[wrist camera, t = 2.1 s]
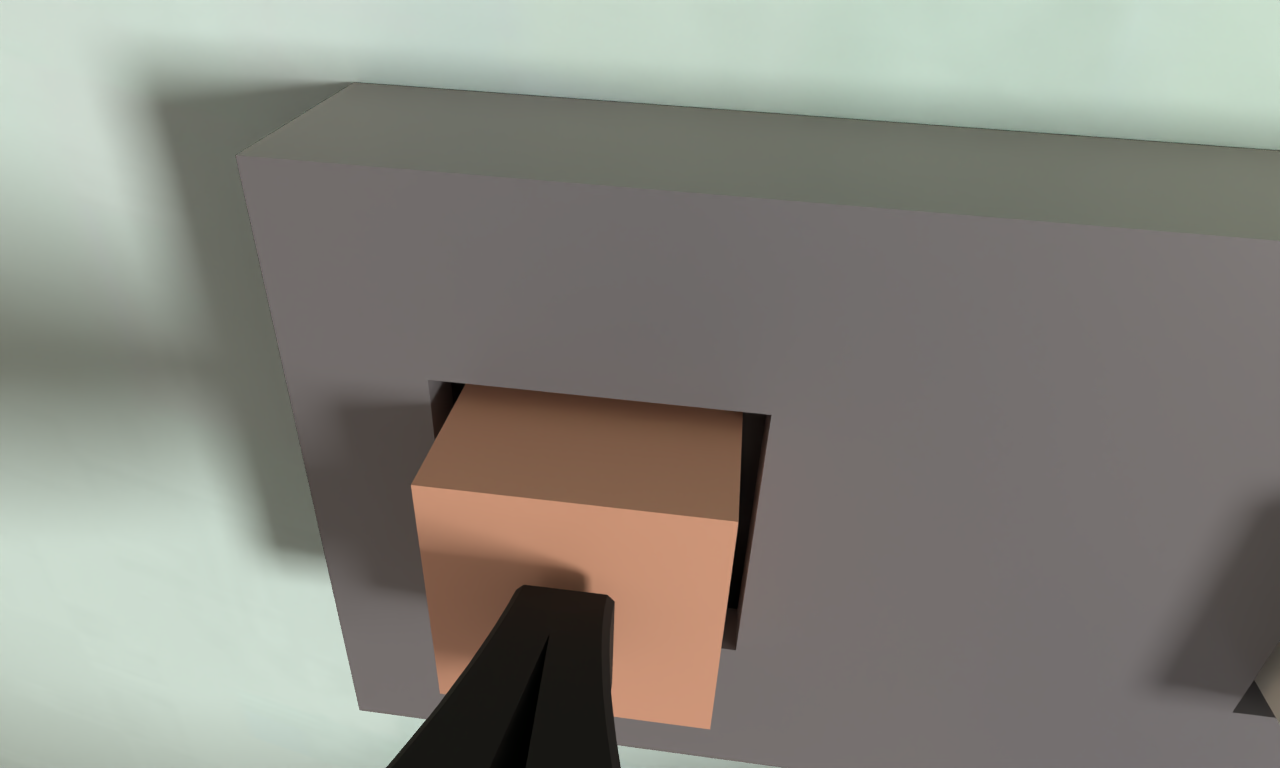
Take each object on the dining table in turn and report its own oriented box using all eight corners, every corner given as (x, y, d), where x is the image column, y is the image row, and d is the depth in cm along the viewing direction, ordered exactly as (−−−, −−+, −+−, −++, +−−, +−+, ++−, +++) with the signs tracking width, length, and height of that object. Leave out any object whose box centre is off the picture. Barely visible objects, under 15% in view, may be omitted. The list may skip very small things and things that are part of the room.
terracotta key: (718, 592, 16) (709, 729, 14) (488, 564, 17) (439, 693, 14) (743, 397, 14) (738, 521, 11) (473, 370, 14) (410, 484, 12)
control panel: (1442, 697, 20) (1580, 875, 16) (422, 573, 22) (359, 710, 18) (1879, 194, 13) (2264, 320, 10) (353, 82, 15) (235, 155, 12)
